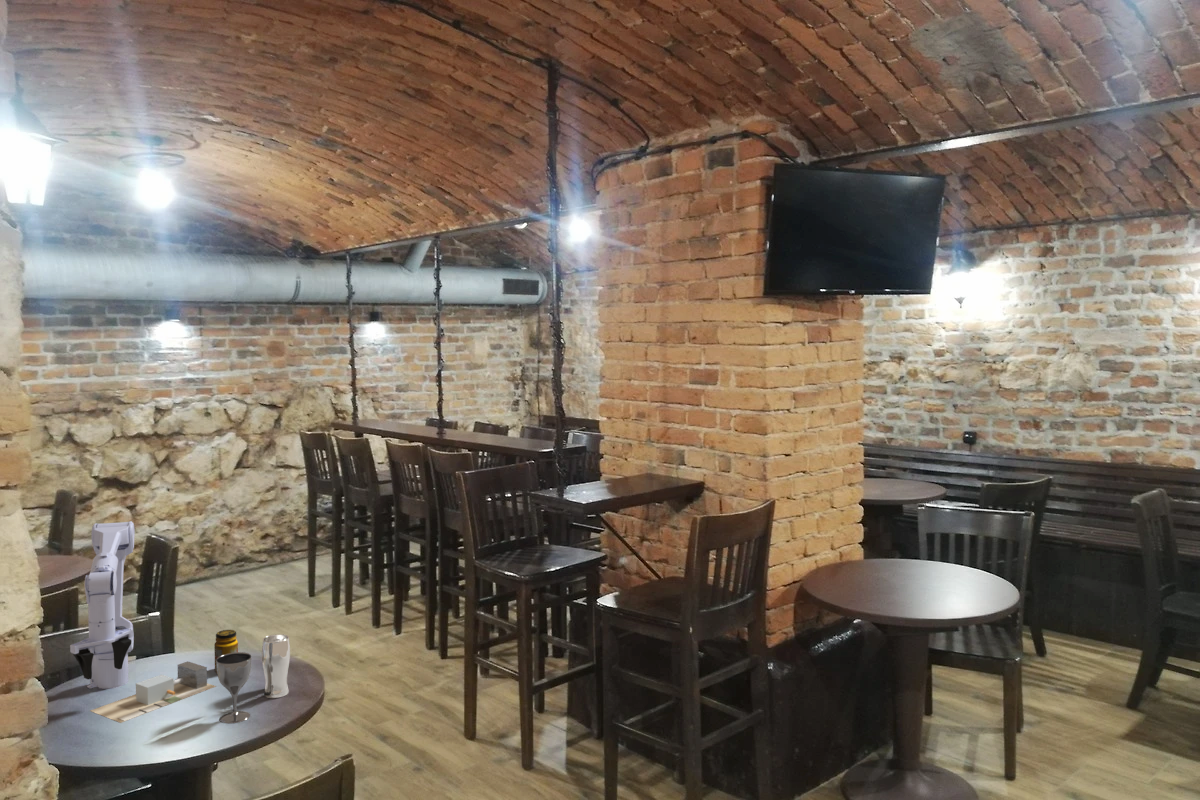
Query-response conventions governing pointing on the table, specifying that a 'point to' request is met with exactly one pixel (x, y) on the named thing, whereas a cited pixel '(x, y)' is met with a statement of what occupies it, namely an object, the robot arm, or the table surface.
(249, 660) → the wine glass
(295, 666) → the table surface
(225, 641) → the condiment
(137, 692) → the light grey block
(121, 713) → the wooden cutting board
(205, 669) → the grey rectangular block
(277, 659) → the beer glass
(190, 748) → the table surface
